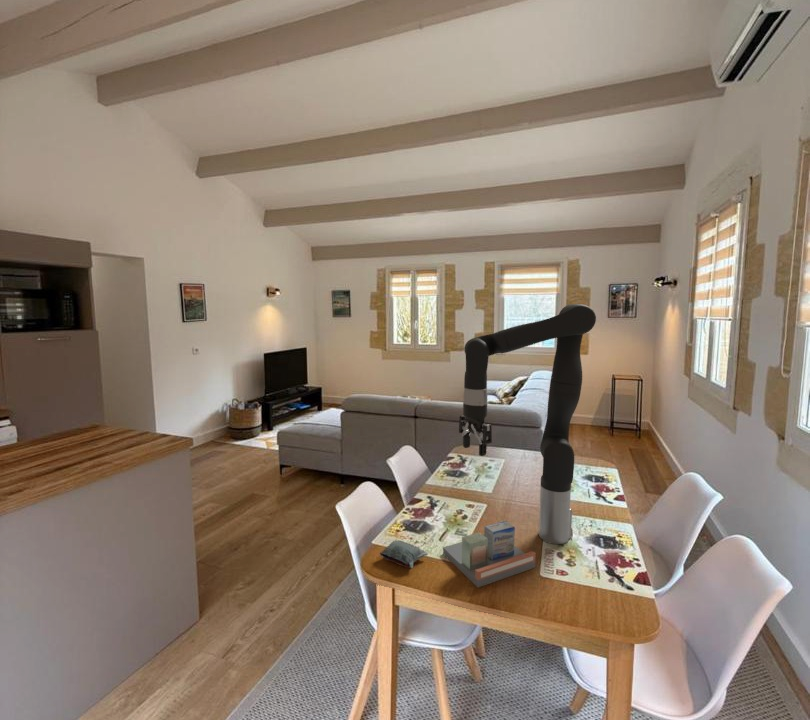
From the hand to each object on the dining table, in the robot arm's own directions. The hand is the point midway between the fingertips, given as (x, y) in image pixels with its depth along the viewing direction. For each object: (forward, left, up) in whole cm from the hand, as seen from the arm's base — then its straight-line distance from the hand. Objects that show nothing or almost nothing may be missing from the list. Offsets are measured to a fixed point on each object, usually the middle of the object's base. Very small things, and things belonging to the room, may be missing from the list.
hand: (474, 451), depth 140 cm
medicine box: (+1, +15, -27) cm, 31 cm away
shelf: (+4, +14, -29) cm, 32 cm away
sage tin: (+11, +16, -27) cm, 33 cm away
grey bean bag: (+26, +2, -29) cm, 39 cm away
